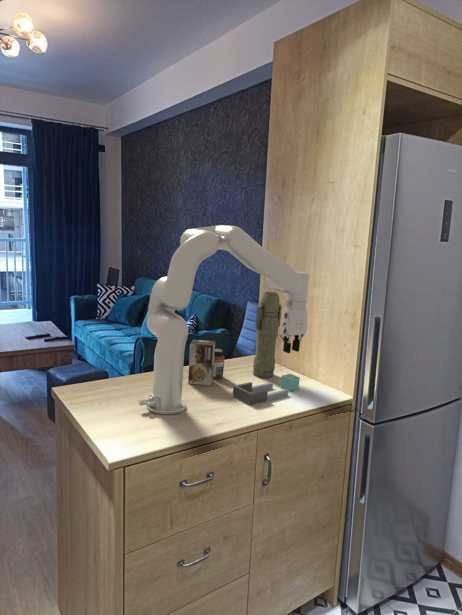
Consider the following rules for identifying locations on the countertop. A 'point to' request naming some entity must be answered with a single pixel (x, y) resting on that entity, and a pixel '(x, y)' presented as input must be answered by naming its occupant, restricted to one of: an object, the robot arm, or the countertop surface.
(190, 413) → the countertop surface
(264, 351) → the thermos
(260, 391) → the channel
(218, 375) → the supplement bottle
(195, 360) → the coffee box
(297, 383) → the teal block
